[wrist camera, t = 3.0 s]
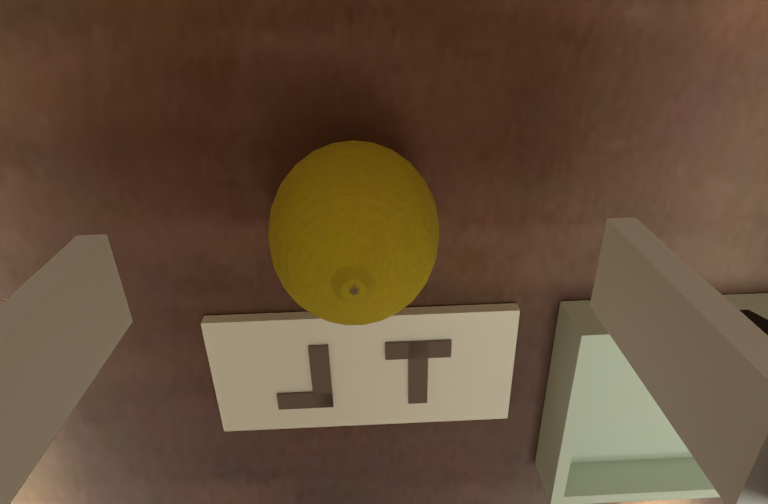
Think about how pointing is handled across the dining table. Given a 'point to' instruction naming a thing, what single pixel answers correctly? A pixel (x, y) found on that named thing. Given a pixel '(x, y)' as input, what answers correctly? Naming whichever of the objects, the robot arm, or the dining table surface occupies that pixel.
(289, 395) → the tile
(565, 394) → the dish
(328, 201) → the lemon
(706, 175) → the dining table surface
